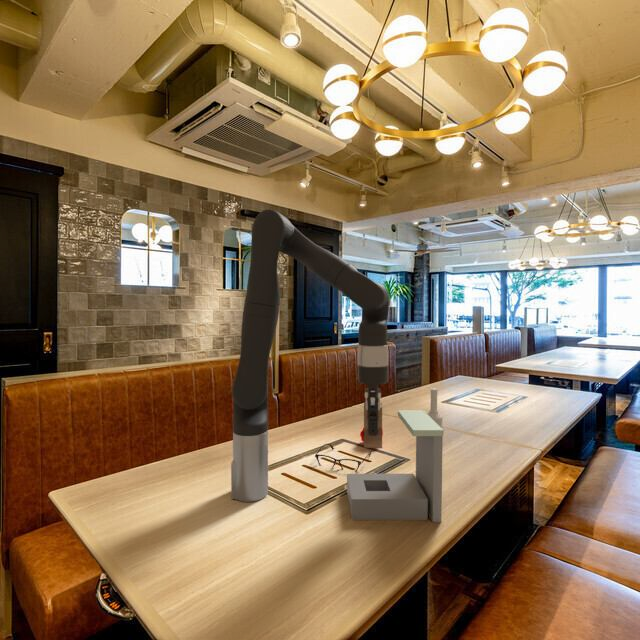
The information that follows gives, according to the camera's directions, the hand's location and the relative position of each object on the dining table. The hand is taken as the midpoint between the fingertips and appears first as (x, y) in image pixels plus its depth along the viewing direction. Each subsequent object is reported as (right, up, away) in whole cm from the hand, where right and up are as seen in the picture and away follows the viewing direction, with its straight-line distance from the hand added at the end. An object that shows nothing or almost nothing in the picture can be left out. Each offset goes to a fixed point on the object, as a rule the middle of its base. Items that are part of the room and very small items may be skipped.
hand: (372, 431), depth 98 cm
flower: (+6, -18, +47) cm, 50 cm away
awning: (+12, -20, +3) cm, 23 cm away
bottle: (+22, -19, +25) cm, 38 cm away
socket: (+3, -19, +3) cm, 20 cm away
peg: (0, -3, 0) cm, 3 cm away
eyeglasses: (-5, -19, +32) cm, 37 cm away
